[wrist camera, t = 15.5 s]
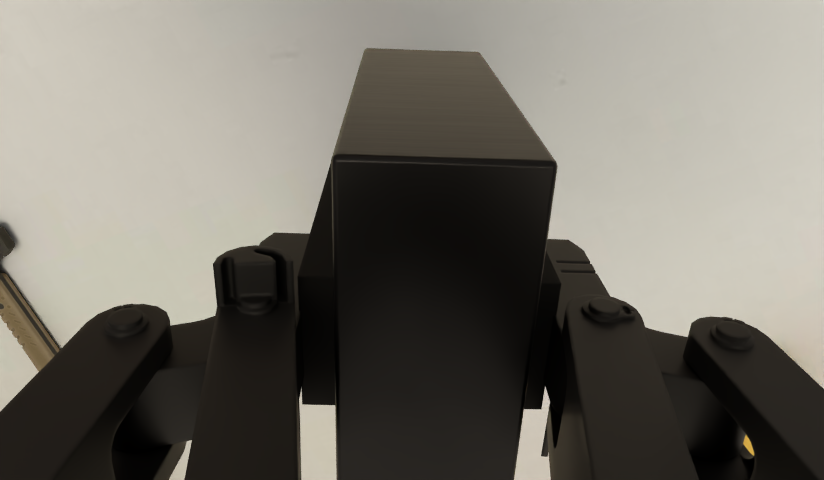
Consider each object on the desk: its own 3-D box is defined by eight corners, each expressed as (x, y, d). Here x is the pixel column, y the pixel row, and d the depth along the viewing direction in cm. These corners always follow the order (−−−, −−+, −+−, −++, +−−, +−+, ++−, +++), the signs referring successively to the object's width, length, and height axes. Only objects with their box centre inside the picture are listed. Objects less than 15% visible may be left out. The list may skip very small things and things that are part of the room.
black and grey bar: (363, 47, 17) (331, 155, 8) (480, 51, 17) (559, 162, 8) (361, 552, 24) (342, 861, 16) (440, 553, 24) (461, 861, 16)
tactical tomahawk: (-103, 242, 34) (-121, 252, 33) (6, 215, 32) (-9, 224, 31) (84, 525, 42) (75, 540, 41) (176, 512, 41) (168, 527, 40)
